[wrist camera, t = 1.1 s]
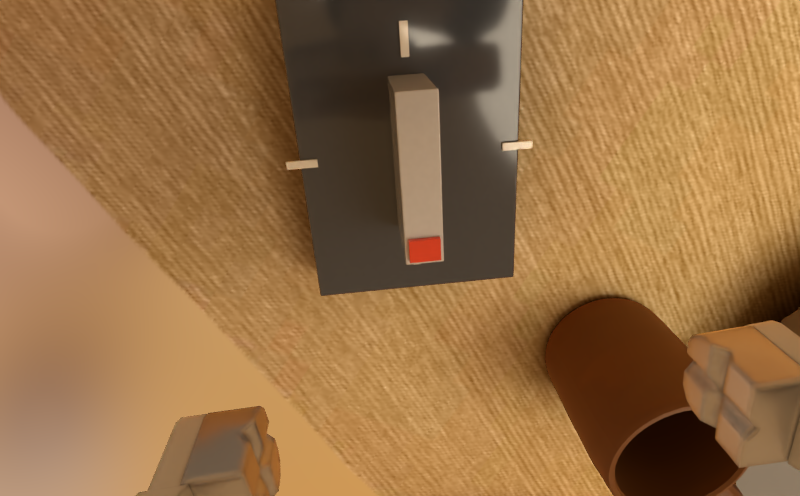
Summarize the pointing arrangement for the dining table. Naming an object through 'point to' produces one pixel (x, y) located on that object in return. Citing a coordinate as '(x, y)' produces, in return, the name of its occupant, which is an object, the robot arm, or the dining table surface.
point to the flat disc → (777, 482)
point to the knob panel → (372, 140)
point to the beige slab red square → (417, 166)
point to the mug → (635, 403)
